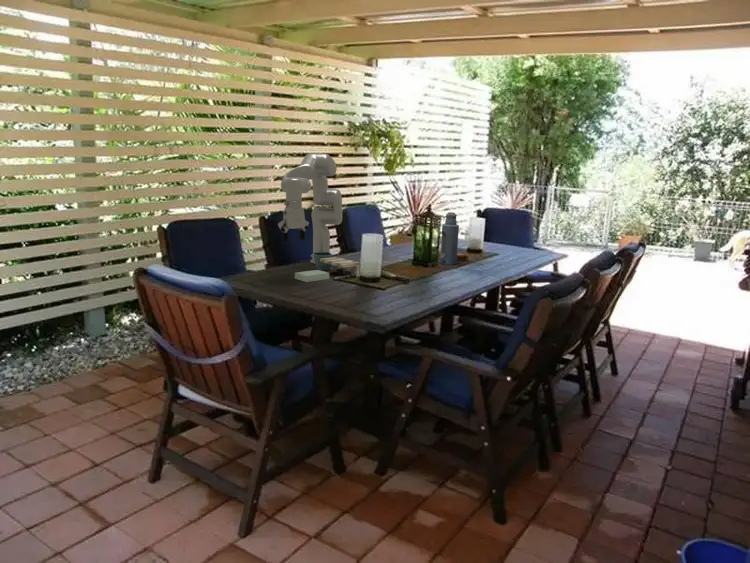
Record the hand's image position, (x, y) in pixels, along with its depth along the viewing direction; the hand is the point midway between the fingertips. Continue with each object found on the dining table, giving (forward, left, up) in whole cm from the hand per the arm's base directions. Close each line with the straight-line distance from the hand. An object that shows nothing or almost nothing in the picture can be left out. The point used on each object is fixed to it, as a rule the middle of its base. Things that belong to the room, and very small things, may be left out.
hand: (293, 240), depth 285 cm
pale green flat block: (0, +11, -20) cm, 23 cm away
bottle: (+10, +101, -21) cm, 103 cm away
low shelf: (0, +27, -20) cm, 33 cm away
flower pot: (-15, +28, -21) cm, 38 cm away
